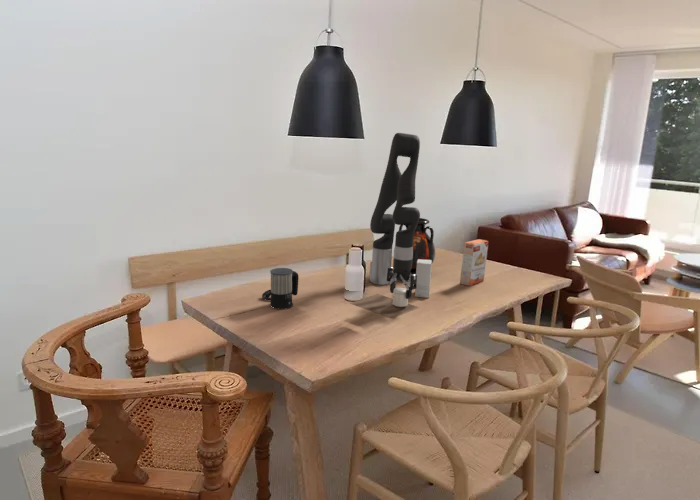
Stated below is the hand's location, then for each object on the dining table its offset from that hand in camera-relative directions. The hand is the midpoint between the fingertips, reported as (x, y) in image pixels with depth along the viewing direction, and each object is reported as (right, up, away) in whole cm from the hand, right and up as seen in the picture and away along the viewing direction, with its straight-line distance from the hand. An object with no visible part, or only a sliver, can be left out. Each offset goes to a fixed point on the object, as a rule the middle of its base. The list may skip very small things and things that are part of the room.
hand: (400, 295), depth 193 cm
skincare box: (+12, -2, +21) cm, 24 cm away
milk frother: (-51, -4, +4) cm, 51 cm away
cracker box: (+40, +2, +42) cm, 58 cm away
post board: (-6, -6, +2) cm, 9 cm away
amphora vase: (+13, +7, +56) cm, 58 cm away
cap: (0, -4, +1) cm, 4 cm away
